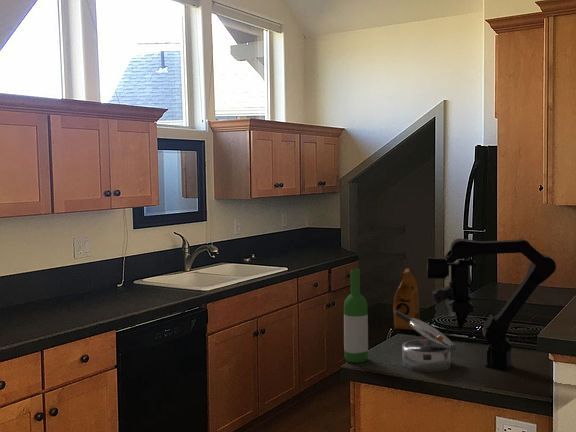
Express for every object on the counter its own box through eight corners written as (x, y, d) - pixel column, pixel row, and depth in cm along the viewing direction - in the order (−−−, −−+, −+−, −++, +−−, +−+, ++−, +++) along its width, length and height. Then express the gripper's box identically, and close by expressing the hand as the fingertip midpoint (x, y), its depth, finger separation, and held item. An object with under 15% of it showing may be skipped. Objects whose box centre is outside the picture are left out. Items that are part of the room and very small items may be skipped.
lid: (451, 341, 213) (455, 335, 213) (455, 355, 199) (459, 349, 198) (394, 308, 216) (398, 303, 215) (394, 320, 201) (398, 314, 200)
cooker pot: (448, 355, 216) (448, 338, 216) (452, 375, 197) (452, 355, 197) (402, 354, 219) (402, 336, 218) (402, 373, 200) (402, 354, 199)
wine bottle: (371, 362, 211) (370, 271, 208) (347, 364, 209) (346, 272, 207) (364, 355, 218) (363, 267, 216) (341, 357, 217) (340, 268, 214)
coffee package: (389, 328, 251) (389, 272, 249) (397, 321, 262) (397, 267, 260) (415, 331, 247) (414, 274, 245) (422, 323, 258) (422, 268, 256)
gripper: (432, 273, 214) (432, 320, 216) (435, 284, 196) (435, 335, 197) (467, 274, 212) (467, 321, 214) (473, 285, 194) (473, 336, 195)
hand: (460, 328), depth 205 cm, fingers closed
